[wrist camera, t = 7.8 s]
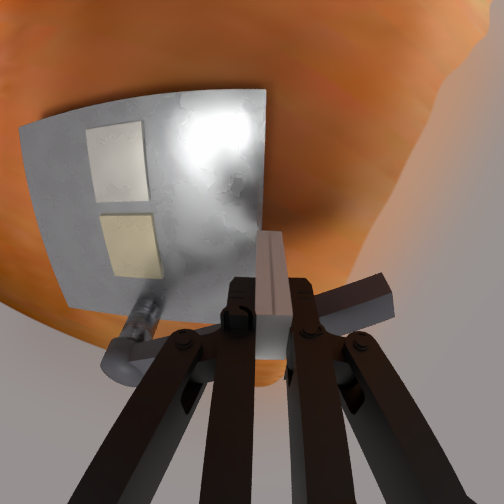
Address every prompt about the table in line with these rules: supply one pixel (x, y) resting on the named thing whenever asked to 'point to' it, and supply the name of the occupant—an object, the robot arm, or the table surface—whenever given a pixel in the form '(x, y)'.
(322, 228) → the table surface
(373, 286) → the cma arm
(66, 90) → the table surface
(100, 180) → the plate
